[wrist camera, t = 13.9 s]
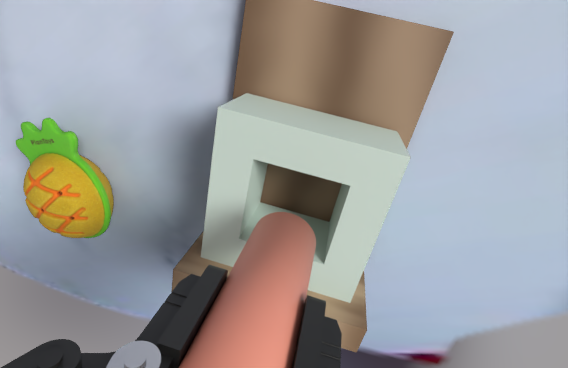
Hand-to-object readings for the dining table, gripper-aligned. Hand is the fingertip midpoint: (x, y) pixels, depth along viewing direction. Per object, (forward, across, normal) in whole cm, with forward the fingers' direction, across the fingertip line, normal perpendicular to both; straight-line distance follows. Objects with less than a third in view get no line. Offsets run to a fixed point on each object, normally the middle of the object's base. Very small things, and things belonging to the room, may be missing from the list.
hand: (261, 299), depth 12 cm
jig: (+13, 0, -2) cm, 13 cm away
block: (+12, 0, 0) cm, 12 cm away
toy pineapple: (+13, +18, +5) cm, 23 cm away
